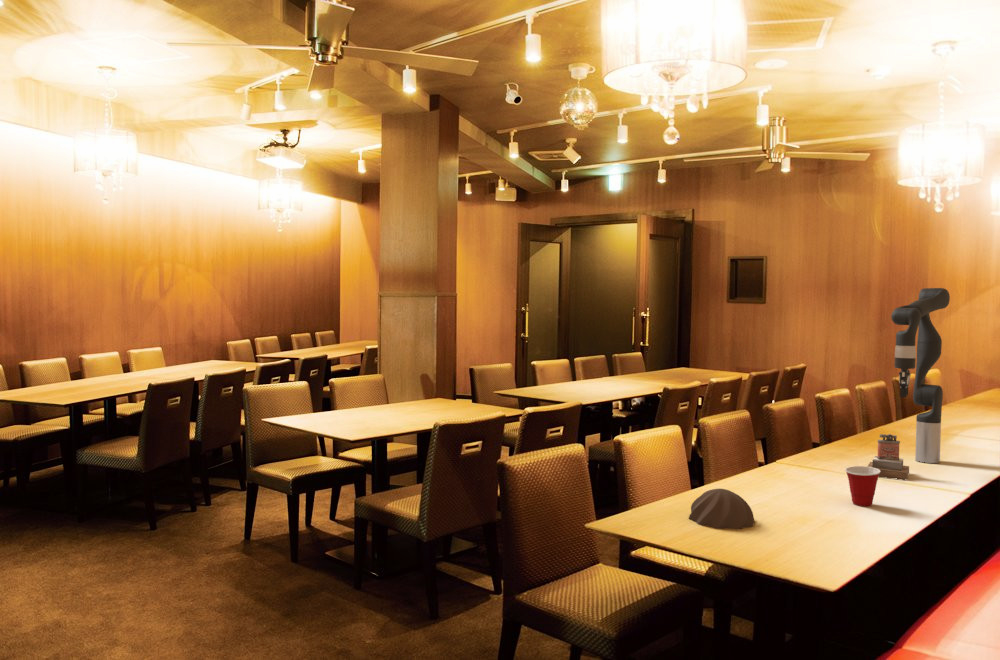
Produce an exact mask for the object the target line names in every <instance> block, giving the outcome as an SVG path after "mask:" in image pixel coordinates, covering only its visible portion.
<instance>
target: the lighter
mask: <svg viewBox="0 0 1000 660" xmlns="http://www.w3.org/2000/svg"><path fill="white" fill-rule="evenodd" d="M897 437H898V436H897V435H895V434H891V433H888V434H886V433H885V434H883V433H880V434H879V438H881V439H877V455H876V456H877V459H880V460H899V459H900V444H901V441H900V440H897V439H898V438H897Z"/></svg>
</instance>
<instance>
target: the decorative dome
mask: <svg viewBox="0 0 1000 660" xmlns="http://www.w3.org/2000/svg"><path fill="white" fill-rule="evenodd" d="M690 511H691V512H690V514H689V516H688V520H690V521H693V522H695V523H696V524H697V525H698V526H705V527H710V528H714V529H717V530H719V529H720V530H725V529H728V530H729V529H730V530H742V529H744V528H753V527H754V523H755V517H754V512H753V510H752V508H751V507H750V504H748V503H747V501H746V500H745V499H744V498H743V497H742V496H740V495H739V494H737V493H735V492H734V491H731V490H729V489H725V488H713V489H709V490H707V491H705V492H703V493H702V494H700V496H699V497H696V498H695V500H694V501H693V502H692V503H691V506H690Z"/></svg>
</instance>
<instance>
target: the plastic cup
mask: <svg viewBox="0 0 1000 660" xmlns="http://www.w3.org/2000/svg"><path fill="white" fill-rule="evenodd" d="M844 471H845V472H846V475H847V479H848V486H849V490H850V496H851V502H852V504H853V505H855V506H859V507H872V506H873V505H872V504H873V501H874V496H875V492H876V488H877V485H878V484H877V483H878V480H879V477H878V476H879V473H880V470H879V469H877V468H873V467H867V466H863V465H861V466H859V465H855V466H853V465H852V466H848V467H846V468H844Z"/></svg>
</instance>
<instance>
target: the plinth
mask: <svg viewBox="0 0 1000 660" xmlns="http://www.w3.org/2000/svg"><path fill="white" fill-rule="evenodd" d="M877 456H878V455H875V456H874V457H873V459H872V461H870V462H869V463H868V465H867V466H866V467H873V468H877V469H879V470H880V473H879V477H878V478H882V477H887V478H886V479H891V478H897V479H896V480H899V479H907V480H908V478H909V475H910V465H904V458H899V460H880V459H877ZM908 474H909V475H908ZM907 477H908V478H907Z"/></svg>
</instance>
